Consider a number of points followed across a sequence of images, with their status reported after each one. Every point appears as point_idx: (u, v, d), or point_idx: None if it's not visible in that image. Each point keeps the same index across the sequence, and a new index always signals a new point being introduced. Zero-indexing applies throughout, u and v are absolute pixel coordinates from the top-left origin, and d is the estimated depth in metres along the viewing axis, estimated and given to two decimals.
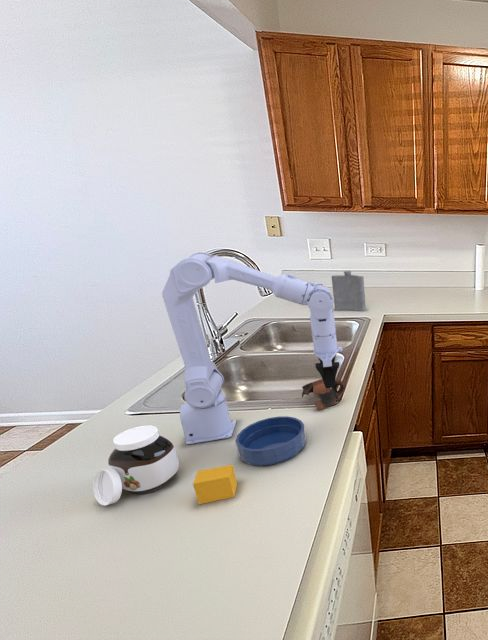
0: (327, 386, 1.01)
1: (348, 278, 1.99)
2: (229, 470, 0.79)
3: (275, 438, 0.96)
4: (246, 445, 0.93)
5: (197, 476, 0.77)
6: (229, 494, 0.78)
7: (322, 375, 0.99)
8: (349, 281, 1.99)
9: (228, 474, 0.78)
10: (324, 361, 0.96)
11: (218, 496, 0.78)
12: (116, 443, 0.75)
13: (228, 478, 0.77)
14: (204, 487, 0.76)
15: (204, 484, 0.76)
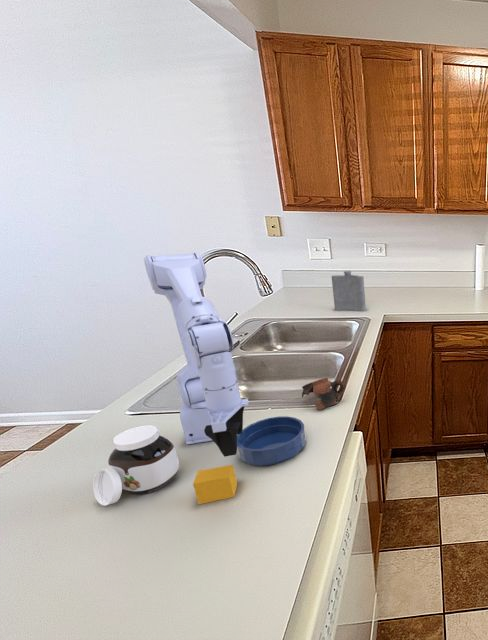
0: (225, 454, 0.77)
1: (348, 278, 1.99)
2: (229, 470, 0.79)
3: (275, 438, 0.96)
4: (246, 445, 0.93)
5: (197, 476, 0.77)
6: (229, 494, 0.78)
7: (216, 441, 0.74)
8: (349, 281, 1.99)
9: (228, 474, 0.78)
10: (214, 425, 0.71)
11: (218, 496, 0.78)
12: (116, 443, 0.75)
13: (228, 478, 0.77)
14: (204, 487, 0.76)
15: (204, 484, 0.76)
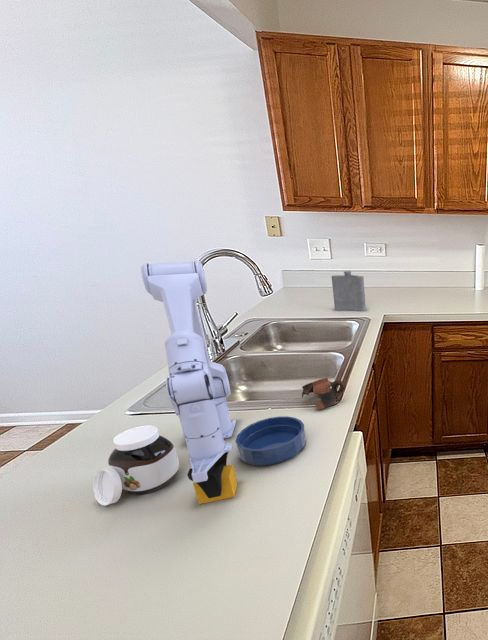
0: (210, 495, 0.76)
1: (348, 278, 1.99)
2: (229, 470, 0.79)
3: (275, 438, 0.96)
4: (246, 445, 0.93)
5: None
6: (229, 494, 0.78)
7: (199, 484, 0.74)
8: (349, 281, 1.99)
9: (228, 474, 0.78)
10: (194, 475, 0.69)
11: (218, 496, 0.78)
12: (116, 443, 0.75)
13: (228, 478, 0.77)
14: None
15: None
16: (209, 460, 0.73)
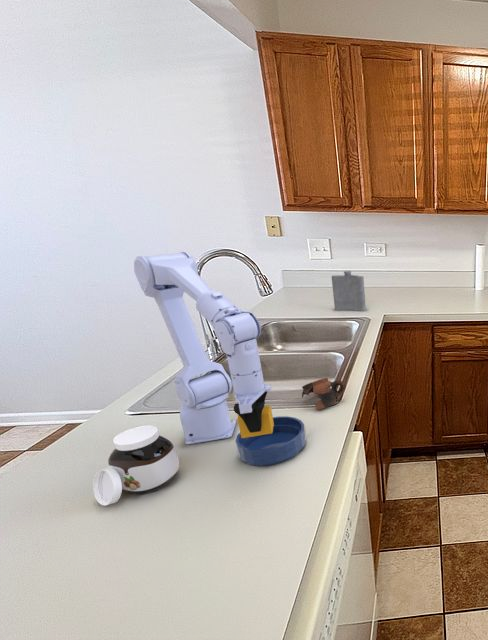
0: (251, 430, 0.85)
1: (348, 278, 1.99)
2: (268, 409, 0.87)
3: (275, 438, 0.96)
4: (246, 445, 0.93)
5: None
6: (267, 430, 0.87)
7: (243, 418, 0.83)
8: (349, 281, 1.99)
9: (267, 412, 0.86)
10: (241, 407, 0.78)
11: (258, 432, 0.86)
12: (116, 443, 0.75)
13: (267, 415, 0.86)
14: None
15: None
16: (252, 396, 0.82)
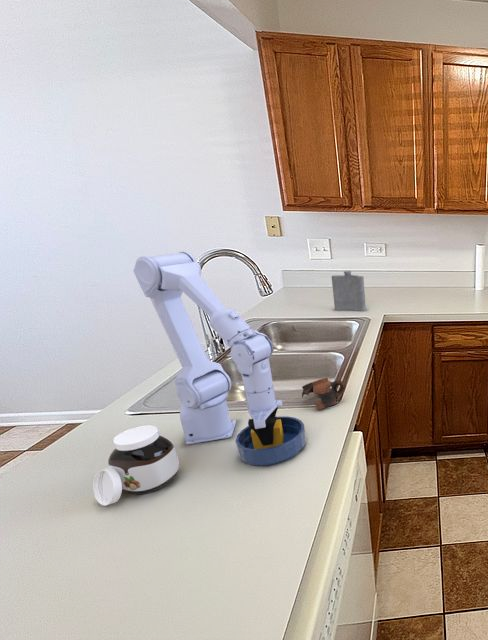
0: (264, 443, 0.91)
1: (348, 278, 1.99)
2: (279, 423, 0.94)
3: None
4: (246, 445, 0.93)
5: None
6: (278, 443, 0.93)
7: (257, 432, 0.89)
8: (349, 281, 1.99)
9: (278, 425, 0.93)
10: (255, 422, 0.84)
11: (270, 444, 0.92)
12: (116, 443, 0.75)
13: (279, 429, 0.92)
14: None
15: None
16: (265, 412, 0.88)
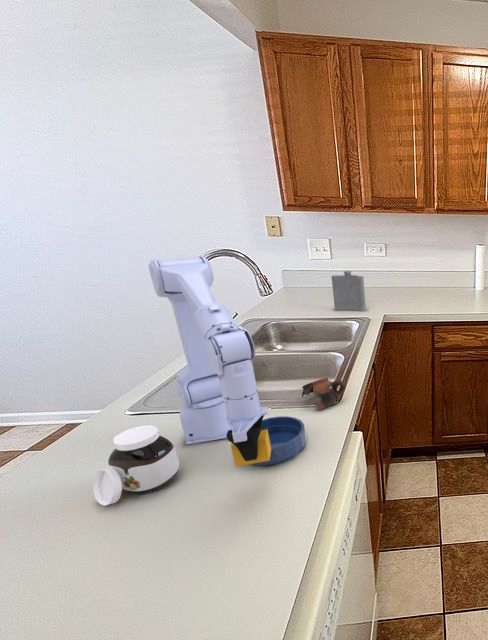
0: (246, 458, 0.77)
1: (348, 278, 1.99)
2: (264, 434, 0.80)
3: (275, 438, 0.96)
4: None
5: None
6: (264, 457, 0.79)
7: (237, 446, 0.75)
8: (349, 281, 1.99)
9: (264, 437, 0.78)
10: (235, 435, 0.70)
11: None
12: (116, 443, 0.75)
13: (264, 441, 0.78)
14: None
15: None
16: (247, 422, 0.74)
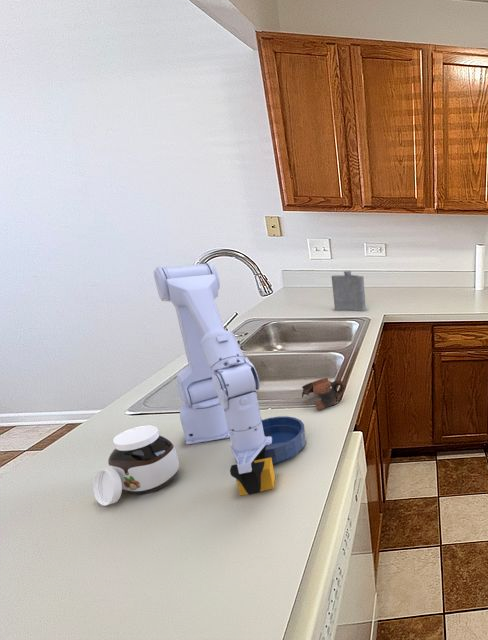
0: (250, 492, 0.77)
1: (348, 278, 1.99)
2: (268, 462, 0.81)
3: (275, 438, 0.96)
4: None
5: None
6: (268, 486, 0.81)
7: (241, 481, 0.75)
8: (349, 281, 1.99)
9: (268, 466, 0.80)
10: (240, 467, 0.72)
11: None
12: (116, 443, 0.75)
13: (268, 470, 0.80)
14: None
15: None
16: (252, 452, 0.76)
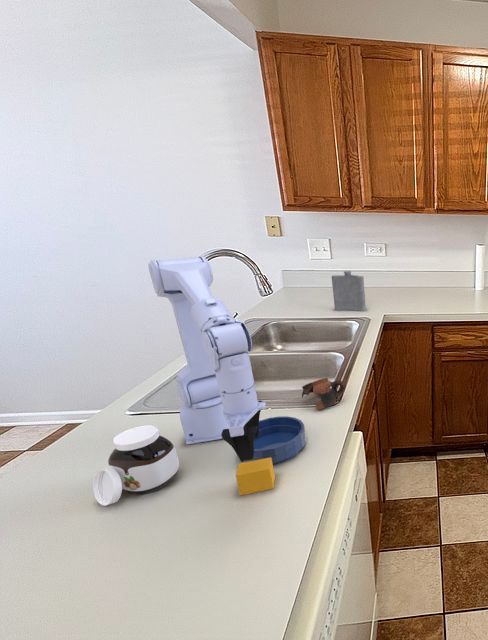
0: (242, 458, 0.74)
1: (348, 278, 1.99)
2: (268, 462, 0.81)
3: (275, 438, 0.96)
4: None
5: (238, 468, 0.79)
6: (268, 486, 0.81)
7: (233, 445, 0.72)
8: (349, 281, 1.99)
9: (268, 466, 0.80)
10: (231, 429, 0.69)
11: (258, 488, 0.80)
12: (116, 443, 0.75)
13: (268, 470, 0.80)
14: (245, 479, 0.78)
15: (246, 475, 0.78)
16: (244, 416, 0.73)
